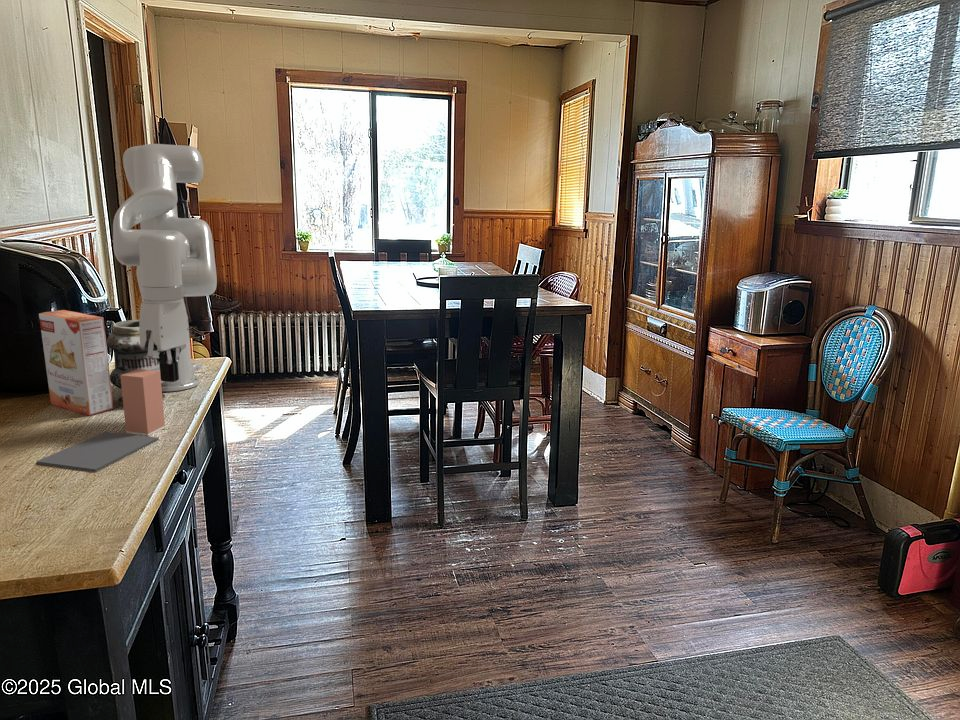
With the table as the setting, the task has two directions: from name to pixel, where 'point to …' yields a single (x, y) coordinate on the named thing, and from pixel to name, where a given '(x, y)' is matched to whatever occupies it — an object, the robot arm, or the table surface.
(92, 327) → the cracker box
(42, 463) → the mat
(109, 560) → the table surface
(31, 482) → the table surface
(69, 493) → the table surface
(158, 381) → the salmon pink block
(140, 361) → the apothecary jar
